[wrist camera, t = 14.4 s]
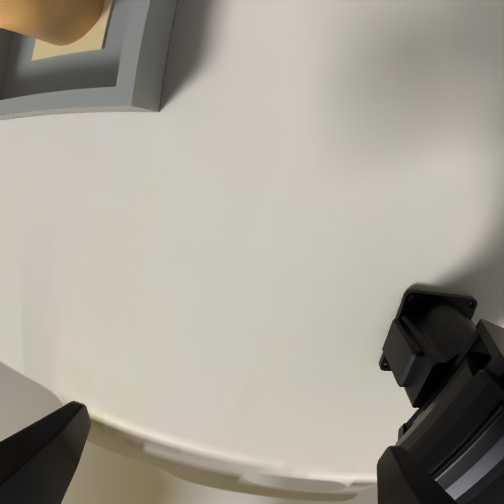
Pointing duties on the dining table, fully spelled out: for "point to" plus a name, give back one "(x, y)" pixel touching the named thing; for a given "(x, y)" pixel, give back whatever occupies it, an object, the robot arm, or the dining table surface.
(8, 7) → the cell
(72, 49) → the gray square tray
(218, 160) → the dining table surface
